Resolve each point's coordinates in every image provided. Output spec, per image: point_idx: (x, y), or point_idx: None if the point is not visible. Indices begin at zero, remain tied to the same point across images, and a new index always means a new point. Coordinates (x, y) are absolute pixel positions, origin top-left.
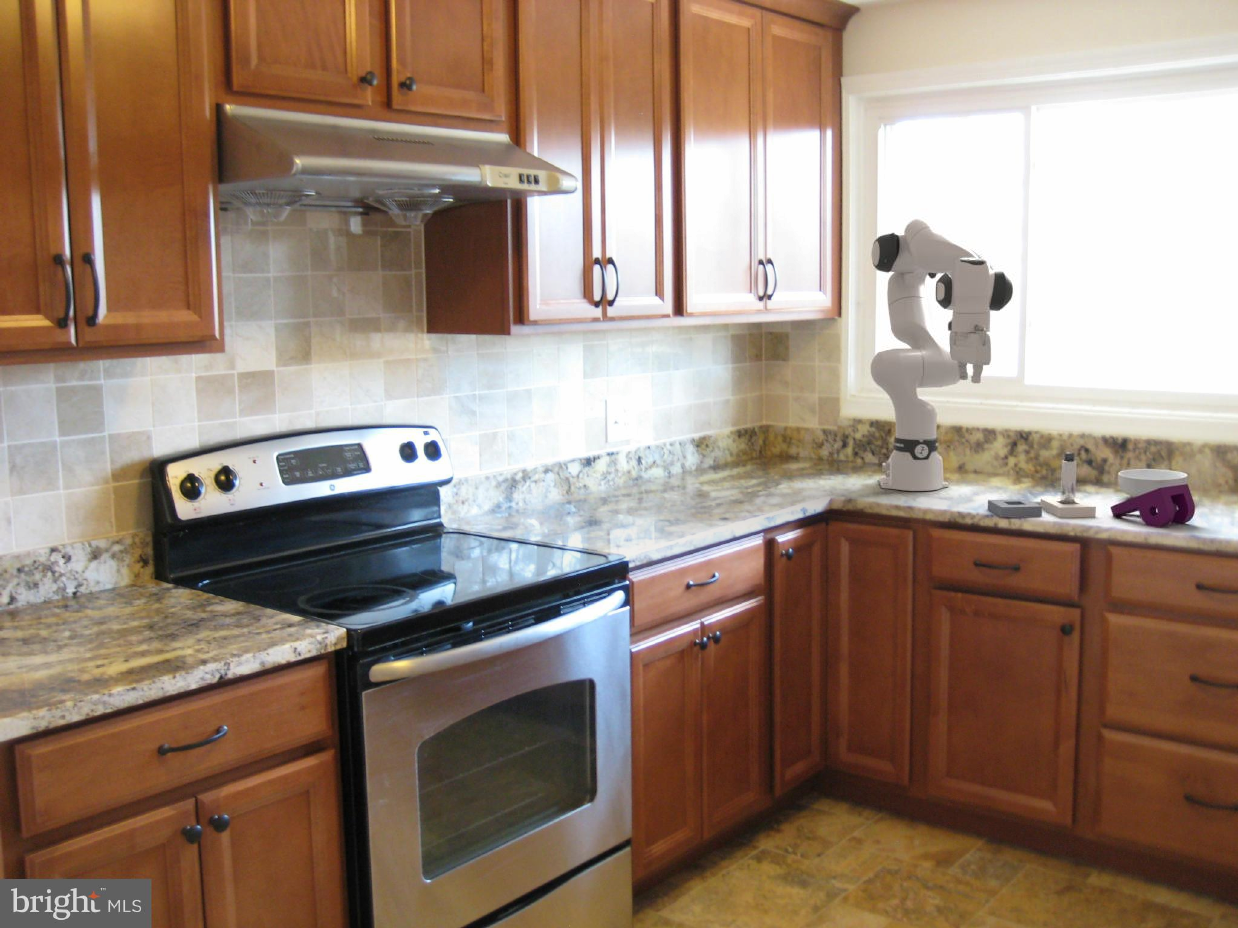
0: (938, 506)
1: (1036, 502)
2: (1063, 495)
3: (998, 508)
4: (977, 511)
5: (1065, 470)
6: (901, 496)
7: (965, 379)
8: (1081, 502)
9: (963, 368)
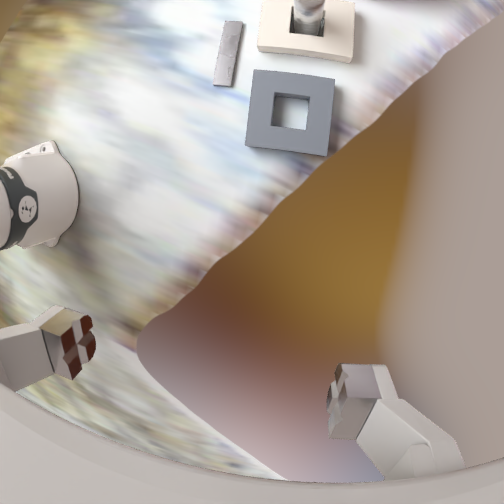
0: (198, 220)
1: (226, 44)
2: (314, 25)
3: (308, 153)
4: (259, 171)
5: (320, 1)
6: (107, 243)
7: (89, 325)
8: None
9: (16, 358)
